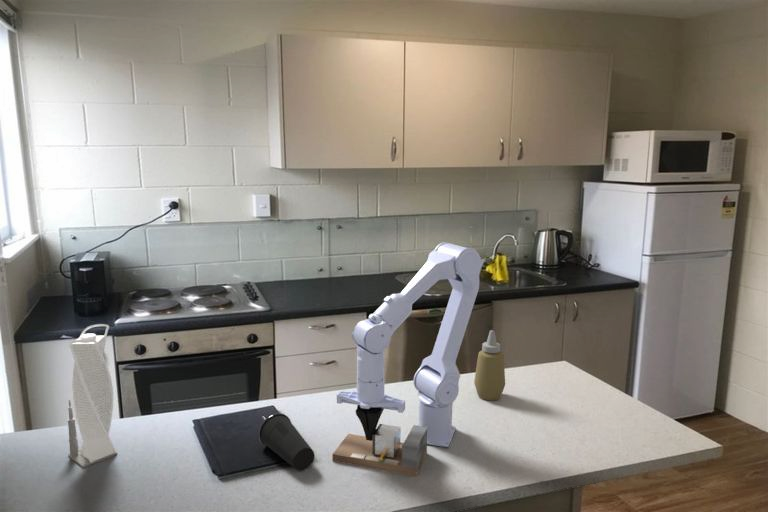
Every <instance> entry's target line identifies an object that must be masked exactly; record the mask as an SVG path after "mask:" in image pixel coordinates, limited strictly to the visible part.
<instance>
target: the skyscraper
mask: <svg viewBox="0 0 768 512" xmlns="http://www.w3.org/2000/svg"><path fill="white" fill-rule="evenodd" d="M95 327H96V328H97V327H104V328H105V327H106V328H105V332H104V335H101V334H100V335H97V334H96V333H95V332H94V333H93V332H92V333H91V332H89V333H86V332H87V330H90V329H92V328H95ZM109 329H110V325H109V324H105V323H96V324H91V325H89V326H86V328H84V329H83V330H82V331H81V333H80V335H79V337H78V338H77V339H75V340H72V341H70V342H69V344H68V345H69V348H70V351H71V355H72V357H73V360H74V363H73V371H72V385H71V386H72V401H73V406H74V407H73V406H72V404H71V399H69V398H68V407H67V409H68V410H67V411H68V418H67V424H68V425H67V427H68V442H69V454H67V455H68V458H70V459H71V460H73V461H74V462H75V463H77V465H79V466H80V467H81V468H83V469H85V468H86V467H88V466H92V465H94V464H96V463H99V462H101V461H104V460H107V459H109V458H111V457H114V456H115V455H116V456H117V455H118V452H117V449H116V447H115V446H114V444H113V441H112V440H111V438H110V429H111V426H112V419H113V410H114V387H113V381H112V377H111V373H110V370H109V367H108V364H107V362H106V360H105V357H104V353H105V347H106V341H107V337H108V336H107V335H108V332H109ZM73 408H74V410H73ZM73 411H74V412H75V417H74V413H73ZM76 422H77V425H78V430H79V434H80V436H81V440H82V444H81V448H79V443H78V442H79V441H78V439H79V437H78V434H77V425H76Z"/></svg>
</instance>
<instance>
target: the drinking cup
mask: <svg viewBox="0 0 768 512" xmlns="http://www.w3.org/2000/svg"><path fill="white" fill-rule="evenodd" d="M261 419H262V423H261V424H260V426H259V430H258V439H259V441H260V443H261V444H262V445H263V444H265V445H267V446H268V448H269V449H270V450H271V451H273V452H274V453H275V454H277V455H278V456H279V457H280V458H281V459H283V460H284V461H285V462H286V463H287V464H289V465H290V466H291V467H292V468H294V470H296V471H299V472H301V471H304V470H306V469H308V468H310V467H311V466H312V464H313V462H314V460H315V452H314V450H313V449H312V447H311V446H310V445H309V444H308V443H307V441H306V439H304V437H303V436H302V435H301V433H300V432H299V431H298V430H297V428H296V427H295V426H294V424H293V423H292V421H291V419H290V418H289V417H288V416H287V415H286V414H284V413H281V412H278V413H274V414H271V415H270V416H268V417H267V418H266V417H265V416H263V415H262V416H261ZM265 445H264V446H265ZM267 446H266V447H267Z"/></svg>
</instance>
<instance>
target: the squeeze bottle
mask: <svg viewBox="0 0 768 512" xmlns="http://www.w3.org/2000/svg"><path fill="white" fill-rule="evenodd" d="M496 338H497V337H496V332H495V330H493V329H491V330H489V333H488V336H487V339H486V341H485V342H483V343H481V345H482V346H481V348H482V349H481V350H480V351H479V352H478V355H477V361H476V367H475V376H474V382H473V383H474V386H475V390H476V393H477V396H478V398H480V399H481V400H482V399H483V400H486V401H496V400H499V399H500V398H501V396H502V394H503V391H504V389H505V386H506V373H505V372H506V371H505V358H504V356H505V355H504V353H503V352H502V351H501V343H499V342H497V339H496Z"/></svg>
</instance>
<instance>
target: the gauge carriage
mask: <svg viewBox="0 0 768 512" xmlns="http://www.w3.org/2000/svg"><path fill="white" fill-rule="evenodd" d="M401 429H402V428H401V426H396V425H391V424H383V423H378V425H377V427H376V430H375V432H374V433H373V435H372V454H374V455H380V456H381V457H380V460H383V459H384V457H391V458H394V456H395V455H396V453H397V451H398V449H399V448H400V442H401Z"/></svg>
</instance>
